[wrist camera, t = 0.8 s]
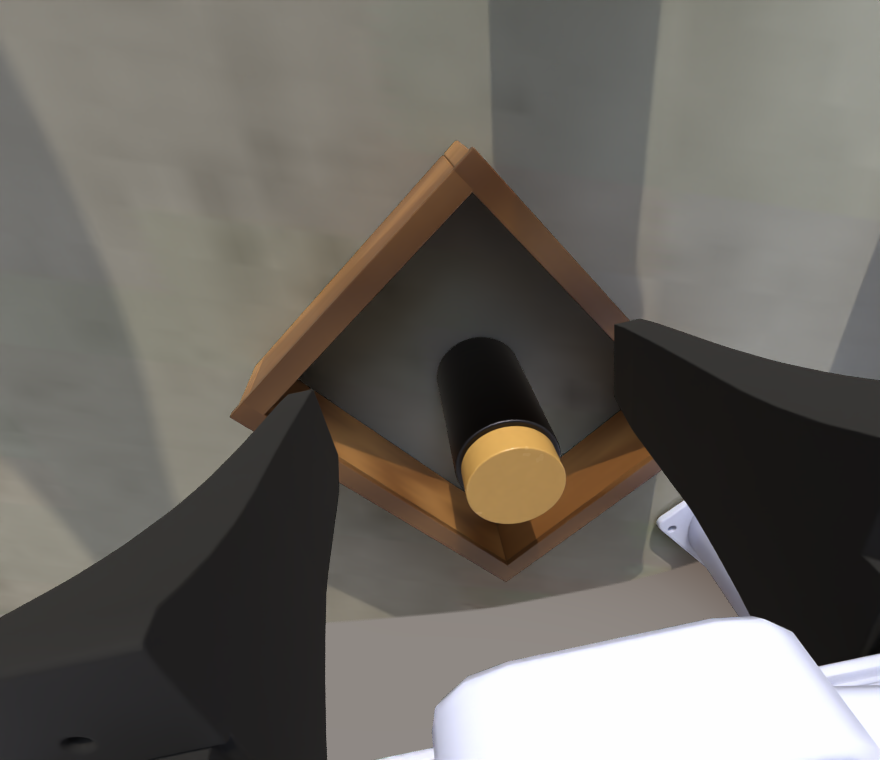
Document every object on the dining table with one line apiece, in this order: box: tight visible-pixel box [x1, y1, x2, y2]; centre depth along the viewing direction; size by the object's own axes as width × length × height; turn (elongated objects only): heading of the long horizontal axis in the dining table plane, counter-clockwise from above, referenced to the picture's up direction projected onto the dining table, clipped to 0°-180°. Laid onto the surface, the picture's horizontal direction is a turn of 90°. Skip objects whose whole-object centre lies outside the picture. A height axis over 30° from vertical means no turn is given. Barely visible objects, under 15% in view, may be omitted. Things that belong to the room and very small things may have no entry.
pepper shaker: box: [437, 337, 566, 524], centre depth 20 cm, size 4×4×8 cm
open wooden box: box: [230, 141, 661, 582], centre depth 22 cm, size 16×13×4 cm
